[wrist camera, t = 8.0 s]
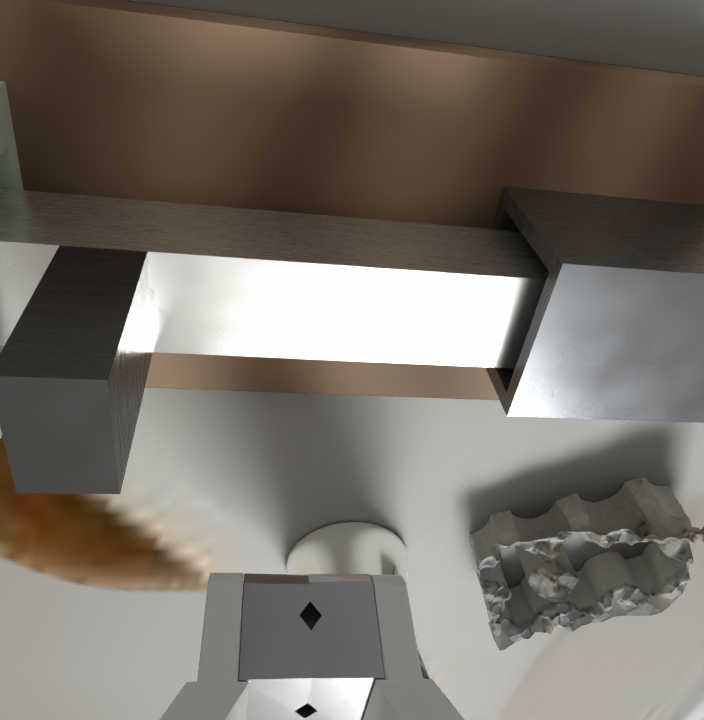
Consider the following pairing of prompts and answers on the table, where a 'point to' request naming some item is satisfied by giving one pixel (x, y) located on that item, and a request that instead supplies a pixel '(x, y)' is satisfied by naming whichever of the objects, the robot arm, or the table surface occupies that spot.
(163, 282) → the light grey bar piece
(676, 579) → the egg carton
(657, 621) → the table surface
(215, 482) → the table surface
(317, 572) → the beer glass
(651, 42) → the table surface
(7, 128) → the socket
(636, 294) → the sleeve
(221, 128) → the base board
